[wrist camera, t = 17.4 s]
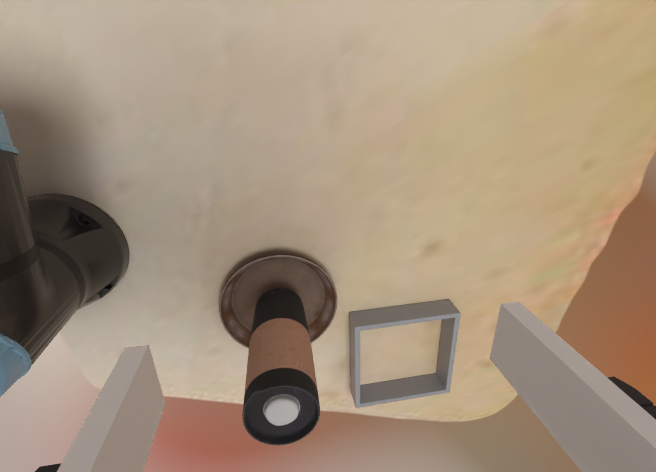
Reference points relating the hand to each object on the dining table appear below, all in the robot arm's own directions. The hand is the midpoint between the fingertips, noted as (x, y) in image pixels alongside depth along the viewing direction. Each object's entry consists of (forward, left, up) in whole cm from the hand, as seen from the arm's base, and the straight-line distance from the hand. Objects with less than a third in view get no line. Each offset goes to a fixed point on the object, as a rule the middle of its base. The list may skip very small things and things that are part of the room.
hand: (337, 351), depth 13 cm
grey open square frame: (+17, -34, -37) cm, 53 cm away
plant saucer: (-3, -21, -38) cm, 43 cm away
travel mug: (-3, -21, -34) cm, 40 cm away
